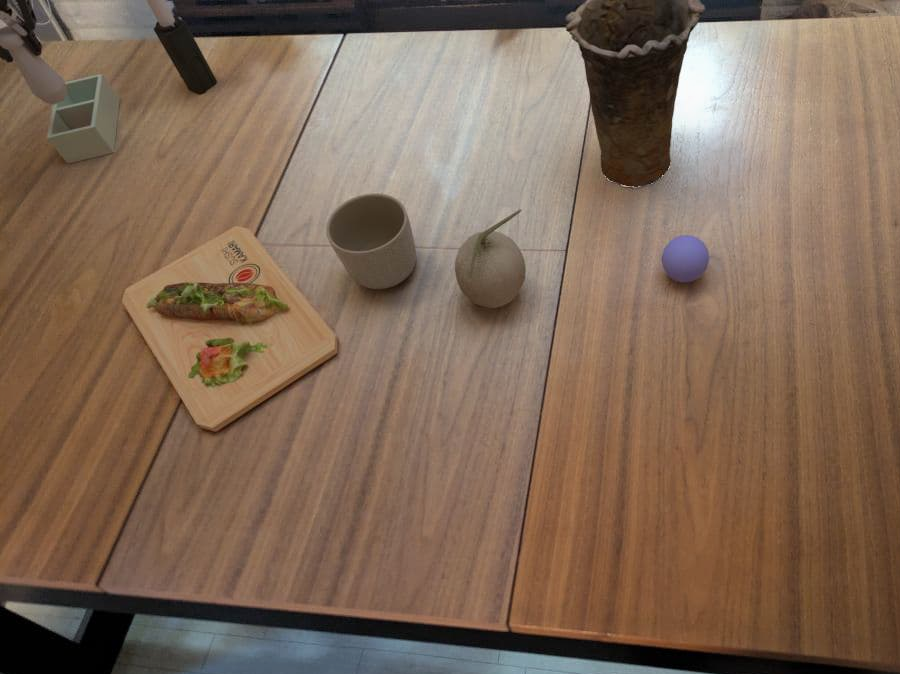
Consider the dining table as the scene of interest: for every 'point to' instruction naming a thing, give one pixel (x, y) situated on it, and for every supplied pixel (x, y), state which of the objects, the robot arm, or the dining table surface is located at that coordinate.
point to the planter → (373, 240)
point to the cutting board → (228, 327)
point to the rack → (85, 120)
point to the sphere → (685, 258)
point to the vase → (633, 79)
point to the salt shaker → (33, 68)
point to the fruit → (490, 267)
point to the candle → (182, 48)
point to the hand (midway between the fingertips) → (24, 56)
